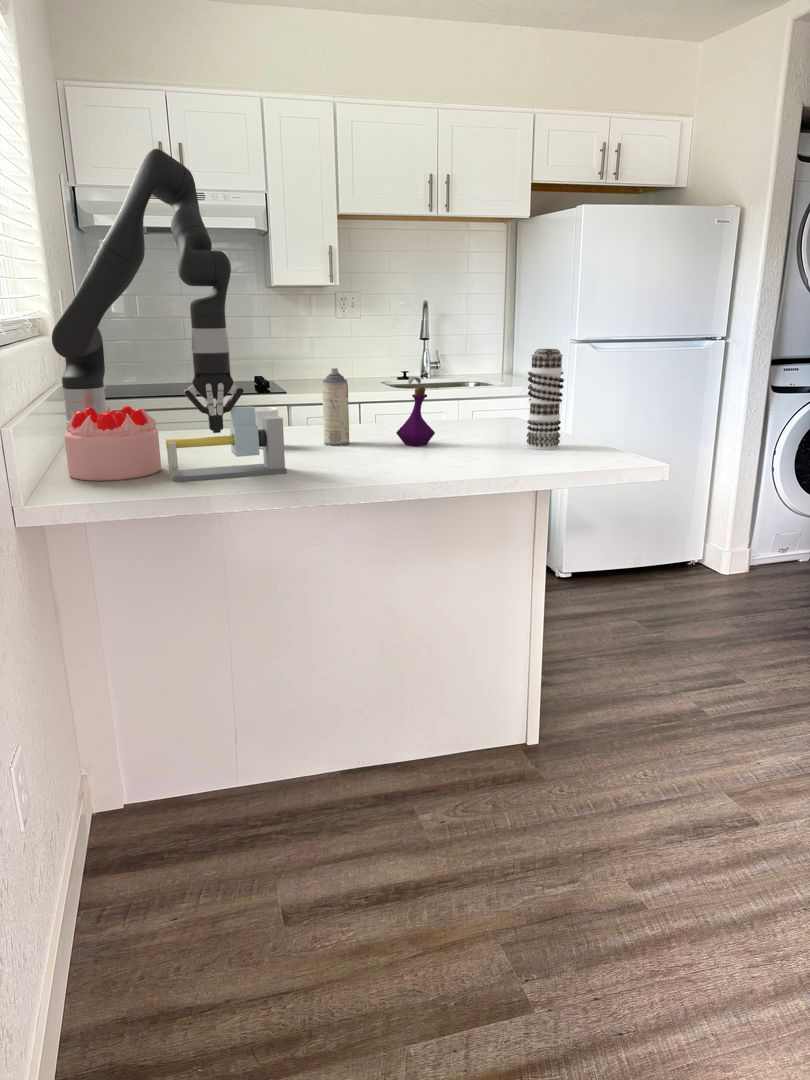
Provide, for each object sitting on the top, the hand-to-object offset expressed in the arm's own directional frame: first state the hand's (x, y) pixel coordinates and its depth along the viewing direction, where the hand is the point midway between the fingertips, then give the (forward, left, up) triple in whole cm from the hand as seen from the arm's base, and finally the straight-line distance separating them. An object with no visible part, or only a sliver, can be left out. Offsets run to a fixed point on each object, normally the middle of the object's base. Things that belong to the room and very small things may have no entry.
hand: (216, 432), depth 172 cm
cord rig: (+2, 0, -9) cm, 10 cm away
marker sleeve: (+6, 0, -5) cm, 8 cm away
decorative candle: (+84, +3, -10) cm, 85 cm away
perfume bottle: (+55, +20, -10) cm, 59 cm away
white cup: (+17, +33, -10) cm, 39 cm away
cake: (-21, +12, -10) cm, 26 cm away
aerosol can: (+36, +30, -10) cm, 48 cm away
